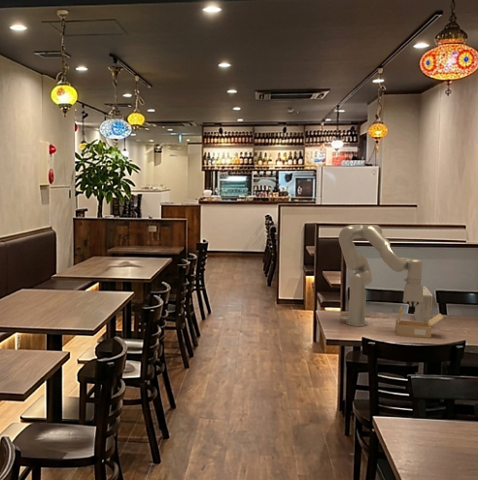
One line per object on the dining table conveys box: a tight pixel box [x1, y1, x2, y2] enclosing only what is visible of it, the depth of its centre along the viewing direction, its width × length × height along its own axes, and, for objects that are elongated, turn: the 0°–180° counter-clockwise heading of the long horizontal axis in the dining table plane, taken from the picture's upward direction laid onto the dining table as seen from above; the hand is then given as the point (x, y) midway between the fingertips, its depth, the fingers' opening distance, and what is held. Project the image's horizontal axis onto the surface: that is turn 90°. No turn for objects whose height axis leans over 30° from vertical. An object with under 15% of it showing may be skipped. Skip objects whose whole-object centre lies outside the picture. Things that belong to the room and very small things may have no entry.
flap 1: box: [395, 305, 404, 323], centre depth 303 cm, size 1×11×8 cm, turn 169°
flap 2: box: [429, 313, 444, 327], centre depth 299 cm, size 1×11×8 cm
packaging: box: [413, 285, 434, 327], centre depth 329 cm, size 30×6×20 cm, turn 168°
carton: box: [394, 319, 433, 339], centre depth 302 cm, size 18×12×6 cm
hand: (412, 313), depth 301 cm, fingers closed
